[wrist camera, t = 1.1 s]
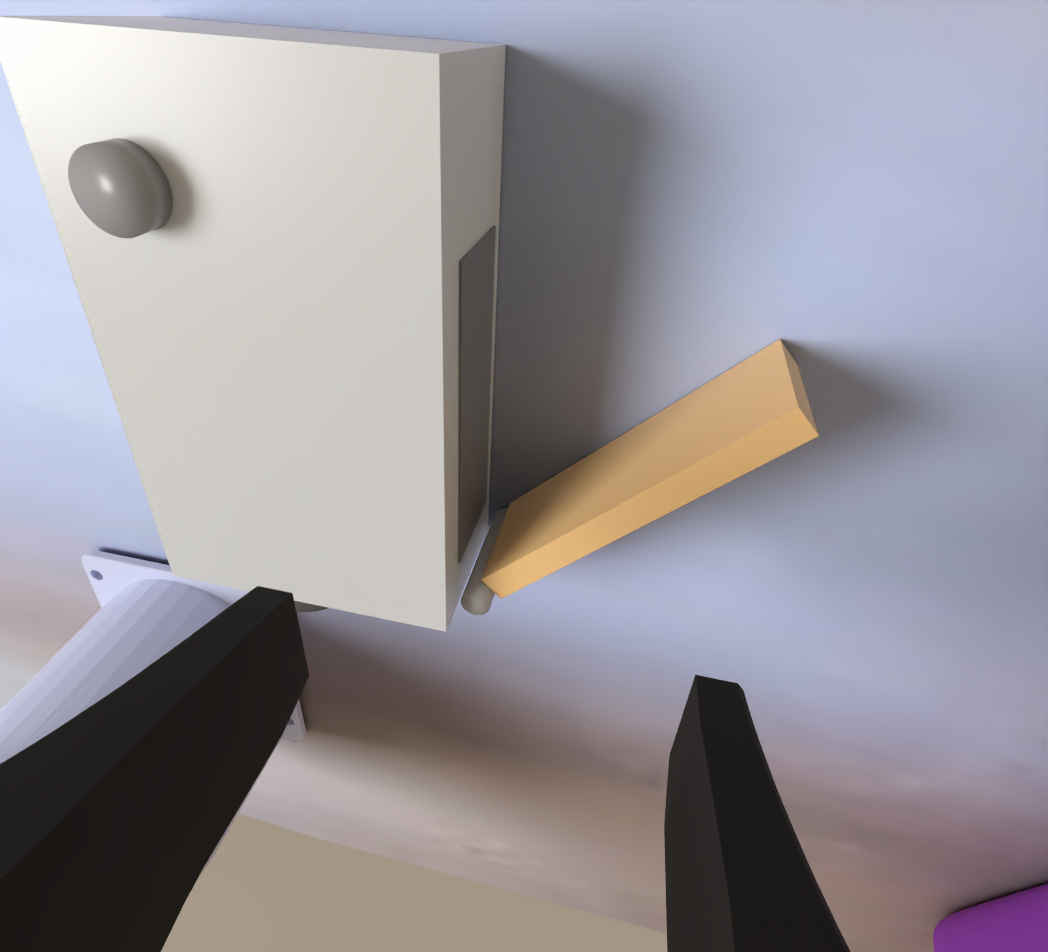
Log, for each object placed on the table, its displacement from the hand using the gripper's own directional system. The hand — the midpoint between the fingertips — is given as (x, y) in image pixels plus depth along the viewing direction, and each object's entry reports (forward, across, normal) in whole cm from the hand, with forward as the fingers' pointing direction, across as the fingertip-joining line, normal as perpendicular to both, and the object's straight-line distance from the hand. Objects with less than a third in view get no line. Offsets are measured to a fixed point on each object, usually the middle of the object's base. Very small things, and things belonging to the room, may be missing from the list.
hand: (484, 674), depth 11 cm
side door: (+9, -2, +1) cm, 10 cm away
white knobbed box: (+9, +6, -2) cm, 11 cm away
